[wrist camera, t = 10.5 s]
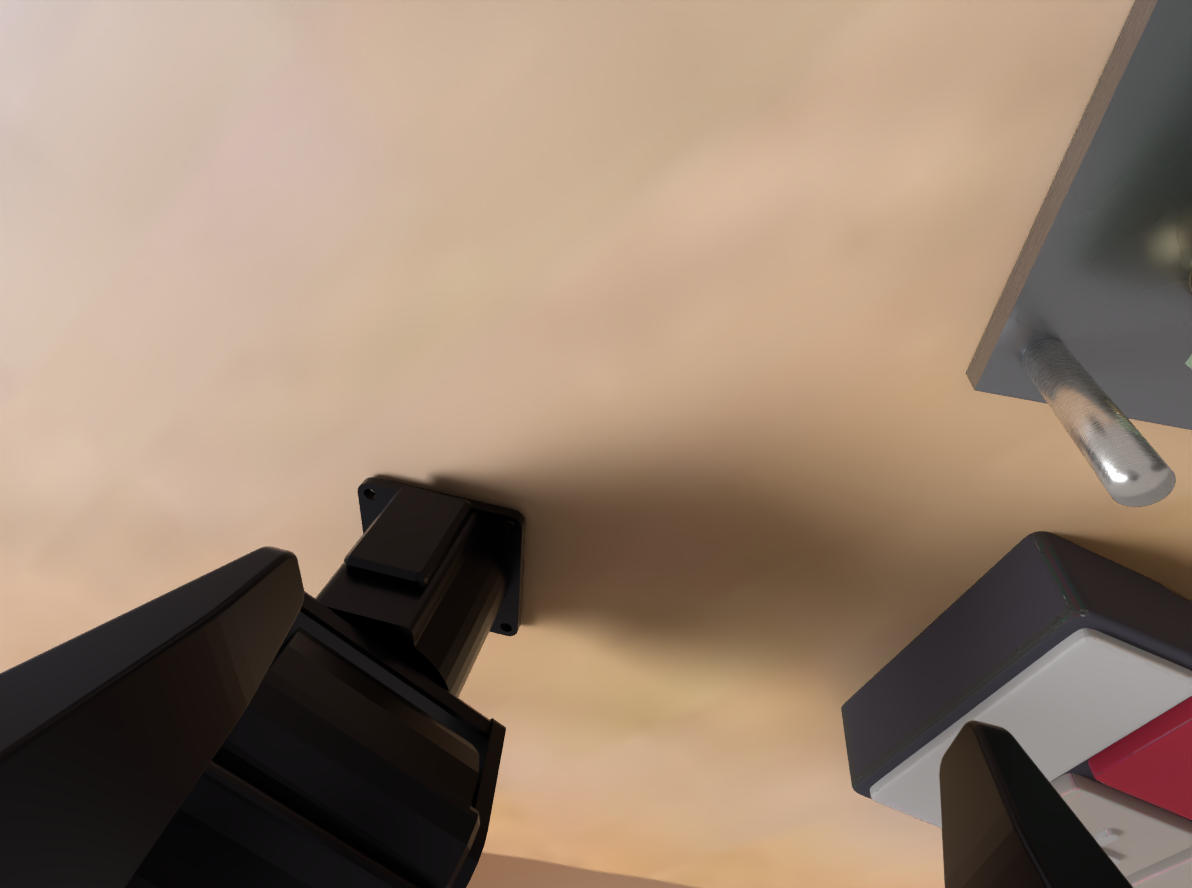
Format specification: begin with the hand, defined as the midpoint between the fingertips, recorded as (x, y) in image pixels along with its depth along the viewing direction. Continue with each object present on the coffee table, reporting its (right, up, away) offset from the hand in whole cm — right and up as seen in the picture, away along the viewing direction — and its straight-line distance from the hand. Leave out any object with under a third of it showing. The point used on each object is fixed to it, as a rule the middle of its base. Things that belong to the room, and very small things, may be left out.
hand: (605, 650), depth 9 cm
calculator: (+18, -7, +15) cm, 25 cm away
